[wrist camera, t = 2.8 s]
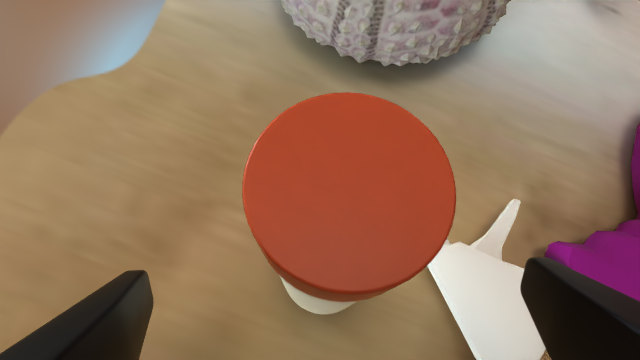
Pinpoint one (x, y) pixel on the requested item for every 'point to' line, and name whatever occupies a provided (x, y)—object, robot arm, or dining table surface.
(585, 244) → the spray bottle
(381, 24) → the sea urchin shell
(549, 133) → the dining table surface
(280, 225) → the white and orange cylinder
